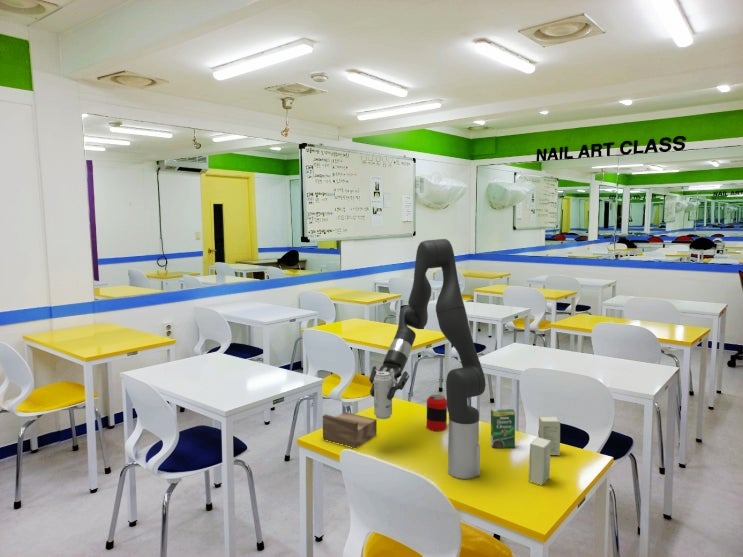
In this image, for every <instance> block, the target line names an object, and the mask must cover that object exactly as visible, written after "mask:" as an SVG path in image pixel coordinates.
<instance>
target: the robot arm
mask: <svg viewBox="0 0 743 557" xmlns="http://www.w3.org/2000/svg"><path fill="white" fill-rule="evenodd" d="M453 248H454V247H453V246H452V243H451V241H450V240H449V239H447V238H439V239H428V240H422V241H421V242H420V243H419V244H418V245H417V250H416V253H415V255H416V256H415V262H414V270H413V271H414V273H413V281H412V282H413V283H412V288H411V290H410V291H411V292H410V294H409V297H408V305H407V304H406V305H404V306H402V307H401V309H400V311H399V314H398V315H399V316H398V325H397V326H398V327H397V330H396V333H395V335H394V337H393V339H392V341H391V344H390V345H389V348H388V350H387V352H386V355H385V357H384V359H383V364H382V365H381V366H380V367H377V366H375V365H374V366H372V368H371V372H370V376H369V382H370V384H372V386H371V388H370V390H369V393H370V394H369V395H371V397H373V398H374V377H375V375H376V372H380V371H386V372H389V373H390V376H391V377H392V387H391V388H390V390H389V392H388V395H387V398H388V400H391V399H392V400H393V399H394V397H395V395H396V392H397V391H399V390H403V389H404V388H405V386H406V383H407V381H408V380H409V378H410V375H409V373H408V372H407V371H405V367H406V365H407V361H408V359H409V357H410V354H411V350H412V347H413V345H414V342H415V341H416V340H415V339H416V332H415V331H414V330H413V329H412V328H414V329H417V330H423V329H424V328H425V327H426V325H427V324H428V318H429V315H428V305H429V303H430V299H431V296H432V286H431V284H430V283H431V282H430V281H429V279H428V278H427V272H428V270H429V269H436V268H437V269H438V268H441V271H442V279H443V280H442V286H441V290H440V292H439V295H438V298H437V300H436V304H435V314H436V317H437V318H436V319H437V322H438V326H439V329H440V331H441V333H442V334H443V335H444V337H445V338H446V340H448V341H449V343H450V344H451V345H452V347H453V348H454V349H455V350H456V352H457V354H458V356H459V357H458V358H459V360H460V363H461V367H457V368H454V369H451V370H449V372H447V375H446V379H445V390H446V393H445V394H446V395H445V398H446V400H447V413H448V437H447V438H448V441H447V442H448V443H447V447H448V449H447V473H448V474H449V475H450V476H452V477H453V478H457V479H460V480H461V479H464V480H470V479H474V478H475V477H480V475H481V474H480V472H481V446H480V444H479V438H480V436H479V434H480V433H479V432H480V431H479V430H480V429H479V428H480V411H479V410H478V409H477V408H476V407H474V406H471V405H468V404H469V403H468V399H469V398H473V397H474V398H475V397H478V396H481V395H483V394H484V392H485V391H486V384H487V383H486V377H485V373H484V370H483V368H482V364H481V360H480V359H479V356H478V353H477V351H476V346H475V343H474V340H473V336H472V332H471V328H470V324H469V319H468V316H467V315H468V314H467V310H466V307H465V304H464V299H463V296H462V292H461V287H460V282H459V277H458V273H457V272H458V271H457V264H456V260H455V258H456V257H455V253H454V252H455V251H454V249H453ZM410 327H411V328H410ZM398 378H400V379H399V381H398Z"/></svg>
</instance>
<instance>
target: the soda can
mask: <svg viewBox="0 0 743 557" xmlns="http://www.w3.org/2000/svg"><path fill="white" fill-rule="evenodd" d="M447 413H448V409H447V398H446V396H444V395H442V394H441V395H440V394H432V395H429V397H428V398H426V428H427V429H428V430H429V429H430V430H429V431H432V430H433V431H432V432H442V430H443V431H445V430H447V420H448V417H447V415H448V414H447Z"/></svg>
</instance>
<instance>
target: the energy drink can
mask: <svg viewBox="0 0 743 557" xmlns="http://www.w3.org/2000/svg"><path fill="white" fill-rule="evenodd" d="M391 387H392V377H391V376H390V373H389V372H386V371H380V372H376V375H375V377H374V397H373V399H374V401H373V406H374V408H373V410H374V411H373V414H374V416H375V419H379V420H388V419H390V418H391V417H392V415H393V398H392V399H391V400H388V398H387V395H388V392H389V390H390V388H391Z"/></svg>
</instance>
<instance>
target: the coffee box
mask: <svg viewBox="0 0 743 557" xmlns="http://www.w3.org/2000/svg"><path fill="white" fill-rule="evenodd" d="M515 445H516V412H515V410H514V409H513V408H511V409H510V408H508V409H491V410H490V446H491V447H492V449H502V448H503V449H507V448H508V449H514V448H515V447H516V446H515Z"/></svg>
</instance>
